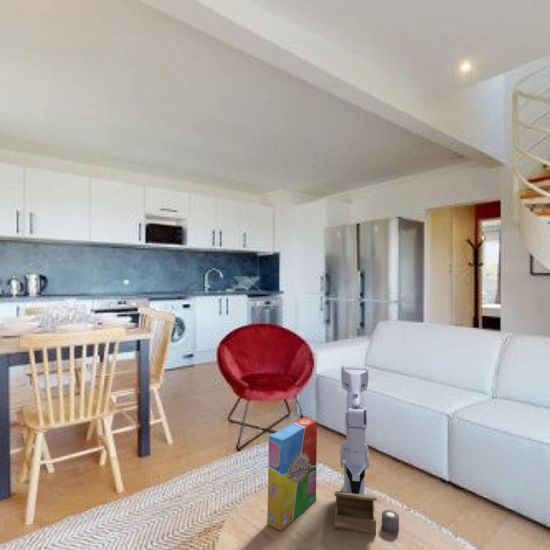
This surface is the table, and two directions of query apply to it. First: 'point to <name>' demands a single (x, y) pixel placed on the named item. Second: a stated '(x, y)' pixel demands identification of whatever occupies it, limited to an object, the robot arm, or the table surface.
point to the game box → (291, 472)
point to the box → (355, 515)
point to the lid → (355, 495)
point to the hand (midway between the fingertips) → (355, 492)
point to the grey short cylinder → (390, 521)
